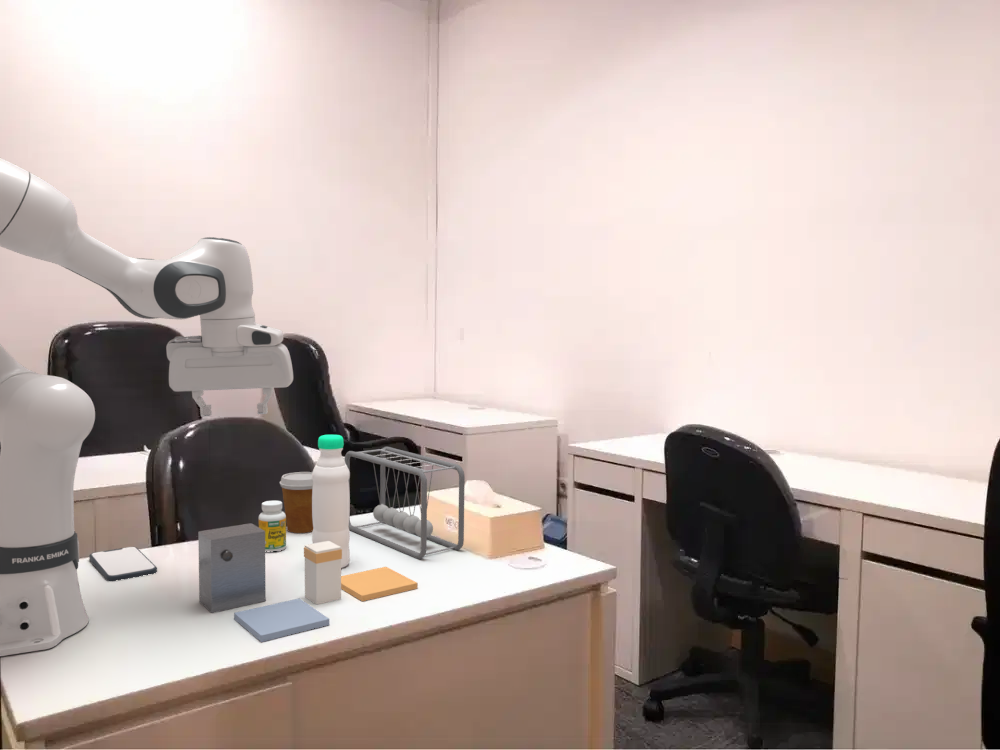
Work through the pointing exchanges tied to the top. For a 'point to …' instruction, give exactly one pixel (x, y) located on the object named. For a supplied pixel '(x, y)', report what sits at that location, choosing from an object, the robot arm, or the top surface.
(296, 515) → the disposable coffee cup
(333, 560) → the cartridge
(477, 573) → the top surface
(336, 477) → the water bottle
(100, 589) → the top surface
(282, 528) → the supplement bottle
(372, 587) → the orange pad
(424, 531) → the newton's cradle
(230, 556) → the control box
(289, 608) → the blue pad
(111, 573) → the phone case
